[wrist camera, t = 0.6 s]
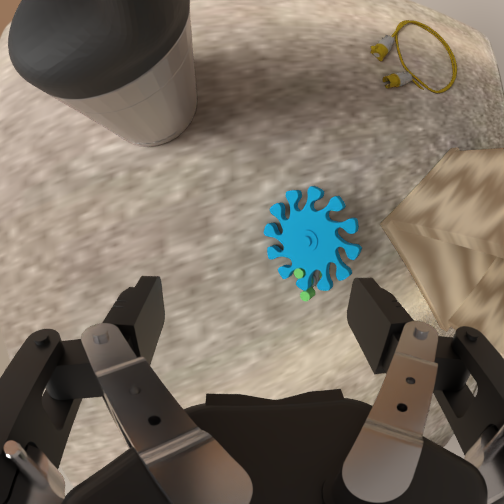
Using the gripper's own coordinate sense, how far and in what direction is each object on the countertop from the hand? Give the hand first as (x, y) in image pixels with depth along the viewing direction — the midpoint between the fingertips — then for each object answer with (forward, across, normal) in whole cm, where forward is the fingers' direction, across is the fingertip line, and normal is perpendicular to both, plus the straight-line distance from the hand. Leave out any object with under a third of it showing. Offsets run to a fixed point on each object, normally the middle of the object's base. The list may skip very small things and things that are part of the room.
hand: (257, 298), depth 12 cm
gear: (+20, -6, +4) cm, 21 cm away
